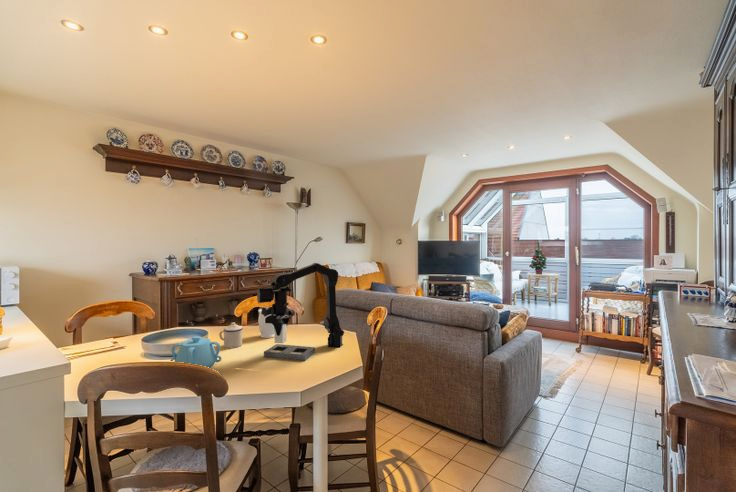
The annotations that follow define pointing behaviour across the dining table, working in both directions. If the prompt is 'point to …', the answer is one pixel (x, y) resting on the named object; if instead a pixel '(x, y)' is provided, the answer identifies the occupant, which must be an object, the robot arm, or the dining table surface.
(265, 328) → the jar
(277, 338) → the plug
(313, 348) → the grey socket board
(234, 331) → the teacup with lid
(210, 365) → the decorative pot
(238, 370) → the dining table surface
